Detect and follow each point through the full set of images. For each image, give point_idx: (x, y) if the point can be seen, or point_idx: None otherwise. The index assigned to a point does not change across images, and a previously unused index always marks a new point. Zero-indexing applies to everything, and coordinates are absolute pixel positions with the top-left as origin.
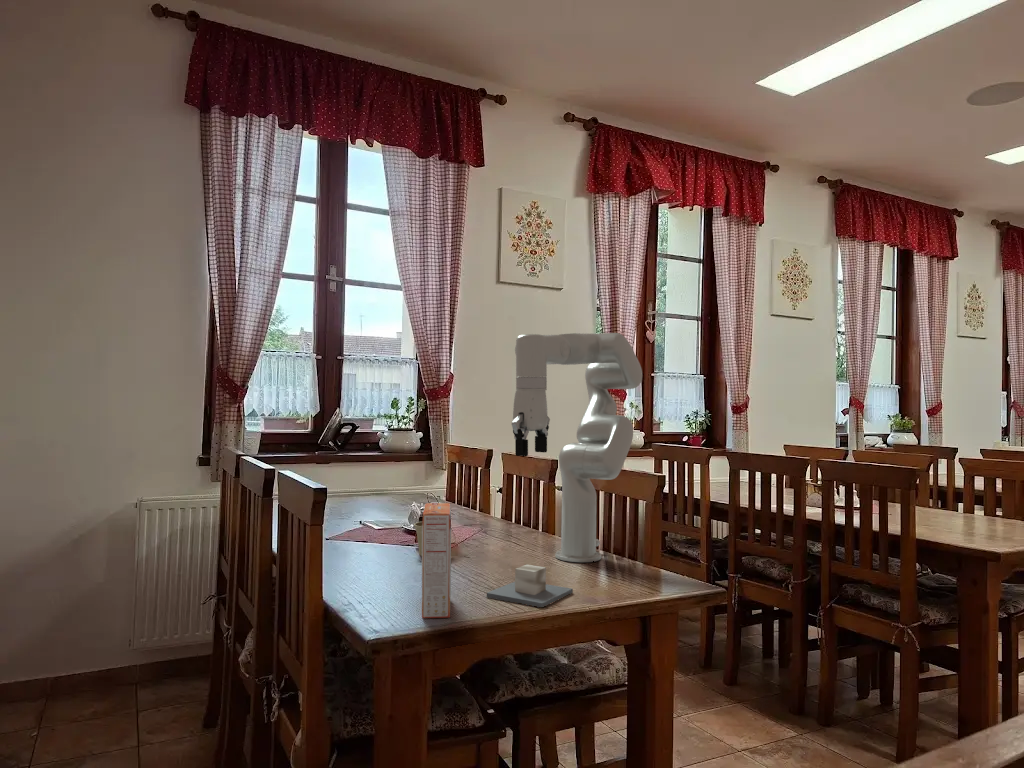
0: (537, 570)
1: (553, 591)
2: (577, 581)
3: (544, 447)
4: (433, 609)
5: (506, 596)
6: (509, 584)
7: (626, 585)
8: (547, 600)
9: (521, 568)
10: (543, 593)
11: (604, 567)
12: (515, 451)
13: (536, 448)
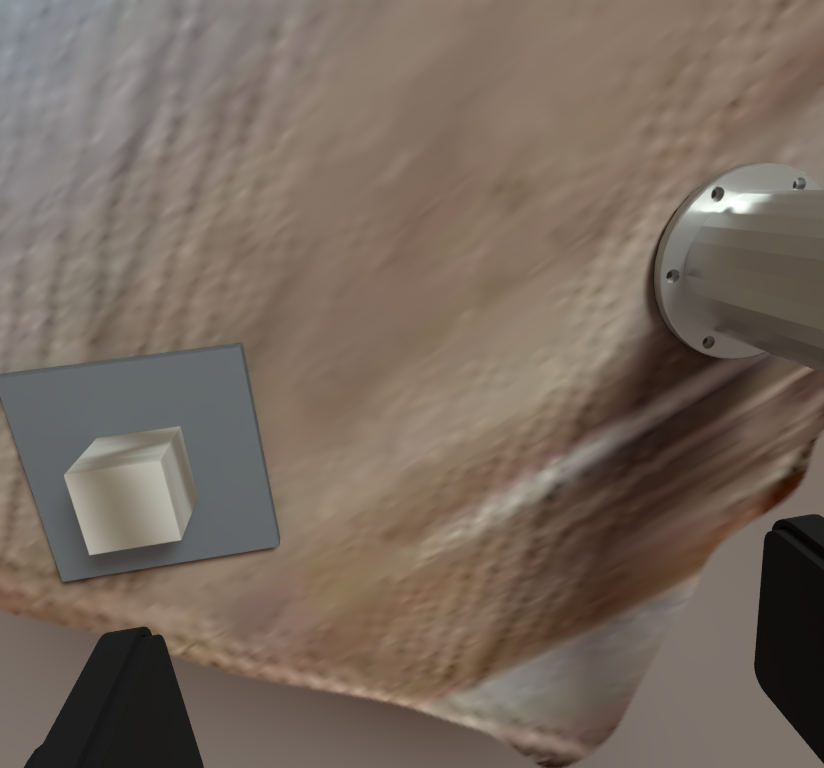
0: (115, 547)
1: (202, 526)
2: (419, 465)
3: (804, 727)
4: None
5: (21, 458)
6: (153, 364)
7: (478, 591)
8: (100, 574)
9: (88, 488)
10: None
11: (653, 421)
12: (80, 675)
13: (802, 578)
